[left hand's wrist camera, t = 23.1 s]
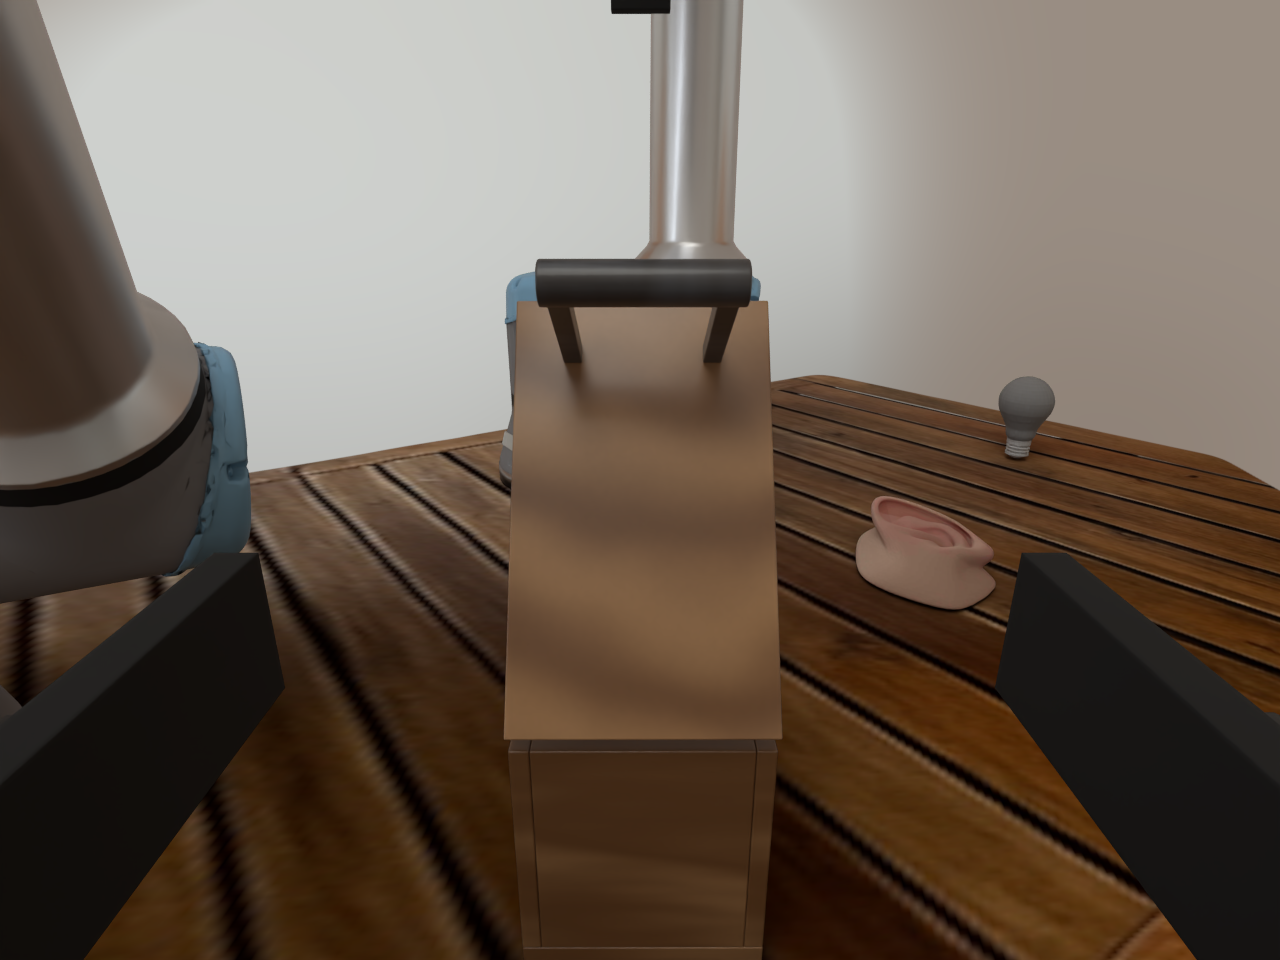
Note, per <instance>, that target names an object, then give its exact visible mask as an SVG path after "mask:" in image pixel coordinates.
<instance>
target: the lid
mask: <svg viewBox="0 0 1280 960" xmlns="http://www.w3.org/2000/svg"><path fill="white" fill-rule="evenodd" d="M535 289H536V298H537V301H517V313H516V346H515V379H514V413H513V446H512V479H511V513H510V546H509V579H508V613H507V646H506V680H505V713H504V740H781V739H782V709H781V679H780V649H779V619H778V589H777V558H776V528H775V498H774V468H773V438H772V408H771V378H770V348H769V318H768V301H750V299H751V291H752V266H751V262H750V260H749V259H538V260H537V262H536V268H535Z"/></svg>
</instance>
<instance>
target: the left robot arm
mask: <svg viewBox="0 0 1280 960" xmlns="http://www.w3.org/2000/svg"><path fill="white" fill-rule="evenodd" d="M247 463H248V459H247V438H246V428H245V419H244V411H243V403H242V396H241V389H240V383H239V377H238V372H237V368H236V364H235V361H234V358H233V356H232V355H231V353H230V352H228V351H227V350H225V349H223V348H222V347H216V346H207V345H206V344H204V343H199V342H198V343H193V341H192V339H191V337H190V336H189V334H188V332H187V330H186V328H185V327H184V326H183V324H182V323H181V322H180V321H179V320H178V319H177V318H176V316H175V315H173V314H172V313H171V312H169V311H168V310H167V309H166V308H165V307H163V306H162V305H160V304H159V303H157V302H155V301H154V300H152V299H151V298H149V297H147V296H145V295H143V294H141V293H139V292H137V291H136V288H135V285H134V282H133V279H132V276H131V273H130V270H129V267H128V265H127V262H126V259H125V256H124V253H123V250H122V247H121V244H120V241H119V238H118V236H117V233H116V230H115V227H114V224H113V221H112V218H111V215H110V212H109V209H108V207H107V204H106V201H105V198H104V195H103V192H102V189H101V186H100V183H99V180H98V178H97V175H96V172H95V169H94V166H93V163H92V160H91V157H90V154H89V152H88V149H87V146H86V143H85V140H84V137H83V134H82V131H81V128H80V125H79V122H78V120H77V117H76V114H75V111H74V108H73V105H72V102H71V99H70V96H69V94H68V91H67V88H66V85H65V82H64V79H63V76H62V73H61V70H60V67H59V64H58V62H57V59H56V56H55V53H54V50H53V47H52V44H51V41H50V38H49V35H48V33H47V30H46V27H45V24H44V21H43V18H42V15H41V12H40V9H39V7H38V4H37V1H36V0H0V604H1V603H6V602H12V601H17V600H23V599H28V598H34V597H39V596H45V595H50V594H56V593H61V592H67V591H72V590H78V589H83V588H89V587H94V586H100V585H105V584H111V583H116V582H122V581H127V580H133V579H138V578H144V577H150V576H156V575H163V576H176V575H179V574H182V573H183V572H184V571H186V570H187V569H191V568H194V569H193V570H192V571H191V572H189V573H188V574H187V575H186V576H184V577H183V578H182V579H181V580H179V581H178V582H177V583H176V584H174V585H173V586H172V587H171V588H170V589H168V590H167V591H166V592H165V593H163V594H162V595H161V596H160V597H158V598H157V599H156V600H155V601H153V602H152V603H151V604H150V605H148V606H147V607H146V608H145V609H143V610H142V611H141V612H140V613H139V614H137V615H136V616H135V617H134V618H132V619H131V620H130V621H129V622H127V623H126V624H125V625H124V626H122V627H121V628H120V629H119V630H117V631H116V632H115V633H114V634H112V635H111V636H110V637H109V638H107V639H106V640H105V641H104V642H103V643H101V644H100V645H99V646H98V647H96V648H95V649H94V650H93V651H91V652H90V653H89V654H88V655H86V656H85V657H84V658H83V659H81V660H80V661H79V662H78V663H76V664H75V665H74V666H73V667H72V668H70V669H69V670H68V671H67V672H65V673H64V674H63V675H62V676H60V677H59V678H58V679H57V680H55V681H54V682H53V683H52V684H50V685H49V686H48V687H47V688H45V689H44V690H43V691H42V692H41V693H39V694H38V695H37V696H36V697H34V698H33V699H32V700H31V701H29V702H28V703H27V704H26V705H24V706H23V707H21V705H20V704H19V703H18V702H17V701H16V700H15V699H14V698H13V697H12V696H11V695H10V694H9V693H8V692H7V691H6V690H5V689H4V688H3V687H2V686H1V685H0V960H83V959H84V958H85V957H86V955H87V954H88V953H89V951H90V950H91V949H92V947H93V946H94V944H95V943H96V942H97V940H98V939H99V938H100V936H101V935H102V934H103V932H104V931H105V930H106V928H107V927H108V926H109V924H110V923H111V922H112V920H113V919H114V918H115V916H116V915H117V913H118V912H119V911H120V909H121V908H122V907H123V905H124V904H125V903H126V901H127V900H128V899H129V897H130V896H131V895H132V893H133V892H134V891H135V889H136V888H137V887H138V885H139V884H140V882H141V881H142V880H143V878H144V877H145V876H146V874H147V873H148V872H149V870H150V869H151V868H152V866H153V865H154V864H155V862H156V861H157V860H158V858H159V857H160V856H161V854H162V853H163V851H164V850H165V849H166V847H167V846H168V845H169V843H170V842H171V841H172V839H173V838H174V837H175V835H176V834H177V833H178V831H179V830H180V829H181V827H182V826H183V825H184V823H185V822H186V820H187V819H188V818H189V816H190V815H191V814H192V812H193V811H194V810H195V808H196V807H197V806H198V804H199V803H200V802H201V800H202V799H203V798H204V796H205V795H206V794H207V792H208V791H209V789H210V788H211V787H212V785H213V784H214V783H215V781H216V780H217V779H218V777H219V776H220V775H221V773H222V772H223V771H224V769H225V768H226V767H227V765H228V764H229V763H230V761H231V760H232V758H233V757H234V756H235V754H236V753H237V752H238V750H239V749H240V748H241V746H242V745H243V744H244V742H245V741H246V740H247V738H248V737H249V736H250V734H251V733H252V732H253V730H254V729H255V727H256V726H257V725H258V723H259V722H260V721H261V719H262V718H263V717H264V715H265V714H266V713H267V711H268V710H269V709H270V707H271V706H272V705H273V703H274V702H275V701H276V699H277V698H278V696H279V695H280V694H281V692H282V691H283V690H284V688H285V686H284V680H283V675H282V670H281V665H280V660H279V655H278V650H277V645H276V640H275V635H274V630H273V625H272V620H271V615H270V610H269V605H268V600H267V595H266V590H265V585H264V579H263V574H262V569H261V564H260V559H259V554H258V553H239V552H240V551H241V550H242V549H243V548H244V546H245V545H246V543H247V541H248V538H249V534H250V527H251V493H250V480H249V472H248V469H247V467H246V466H247ZM995 688H996V690H997V691H998V692H999V694H1000V695H1001V696H1002V698H1003V699H1004V701H1005V702H1006V703H1007V705H1008V706H1009V707H1010V709H1011V710H1012V711H1013V713H1014V714H1015V715H1016V717H1017V718H1018V719H1019V721H1020V722H1021V723H1022V725H1023V726H1024V727H1025V729H1026V730H1027V732H1028V733H1029V734H1030V736H1031V737H1032V738H1033V740H1034V741H1035V742H1036V744H1037V745H1038V746H1039V748H1040V749H1041V750H1042V752H1043V753H1044V754H1045V756H1046V757H1047V758H1048V760H1049V761H1050V763H1051V764H1052V765H1053V767H1054V768H1055V769H1056V771H1057V772H1058V773H1059V775H1060V776H1061V777H1062V779H1063V780H1064V781H1065V783H1066V784H1067V785H1068V787H1069V788H1070V789H1071V791H1072V792H1073V794H1074V795H1075V796H1076V798H1077V799H1078V800H1079V802H1080V803H1081V804H1082V806H1083V807H1084V808H1085V810H1086V811H1087V812H1088V814H1089V815H1090V816H1091V818H1092V819H1093V820H1094V822H1095V823H1096V825H1097V826H1098V827H1099V829H1100V830H1101V831H1102V833H1103V834H1104V835H1105V837H1106V838H1107V839H1108V841H1109V842H1110V843H1111V845H1112V846H1113V847H1114V849H1115V850H1116V851H1117V853H1118V854H1119V856H1120V857H1121V858H1122V860H1123V861H1124V862H1125V864H1126V865H1127V866H1128V868H1129V869H1130V870H1131V872H1132V873H1133V874H1134V876H1135V877H1136V878H1137V880H1138V881H1139V882H1140V884H1141V885H1142V887H1143V888H1144V889H1145V891H1146V892H1147V893H1148V895H1149V896H1150V897H1151V899H1152V900H1153V901H1154V903H1155V904H1156V905H1157V907H1158V908H1159V909H1160V911H1161V912H1162V913H1163V915H1164V916H1165V918H1166V919H1167V920H1168V922H1169V923H1170V924H1171V926H1172V927H1173V928H1174V930H1175V931H1176V932H1177V934H1178V935H1179V936H1180V938H1181V939H1182V940H1183V942H1184V943H1185V944H1186V946H1187V947H1188V949H1189V950H1190V951H1191V953H1192V954H1193V955H1194V957H1195V958H1196V959H1197V960H1280V715H1278V714H1276V713H1264V712H1263V711H1262V710H1261V709H1259V708H1258V707H1257V706H1256V705H1254V704H1253V703H1252V702H1251V701H1249V700H1248V699H1247V698H1246V697H1244V696H1243V695H1242V694H1241V693H1239V692H1238V691H1237V690H1236V689H1235V688H1233V687H1232V686H1231V685H1230V684H1228V683H1227V682H1226V681H1225V680H1223V679H1222V678H1221V677H1220V676H1218V675H1217V674H1216V673H1215V672H1213V671H1212V670H1211V669H1210V668H1208V667H1207V666H1206V665H1205V664H1204V663H1202V662H1201V661H1200V660H1199V659H1197V658H1196V657H1195V656H1194V655H1192V654H1191V653H1190V652H1189V651H1187V650H1186V649H1185V648H1184V647H1182V646H1181V645H1180V644H1179V643H1177V642H1176V641H1175V640H1174V639H1173V638H1171V637H1170V636H1169V635H1168V634H1166V633H1165V632H1164V631H1163V630H1161V629H1160V628H1159V627H1158V626H1156V625H1155V624H1154V623H1153V622H1151V621H1150V620H1149V619H1148V618H1146V617H1145V616H1144V615H1143V614H1141V613H1140V612H1139V611H1138V610H1137V609H1135V608H1134V607H1133V606H1132V605H1130V604H1129V603H1128V602H1127V601H1125V600H1124V599H1123V598H1122V597H1120V596H1119V595H1118V594H1117V593H1115V592H1114V591H1113V590H1112V589H1110V588H1109V587H1108V586H1107V585H1106V584H1104V583H1103V582H1102V581H1101V580H1099V579H1098V578H1097V577H1096V576H1094V575H1093V574H1092V573H1091V572H1089V571H1088V570H1087V569H1086V568H1084V567H1083V566H1082V565H1081V564H1079V563H1078V562H1077V561H1076V560H1075V559H1073V558H1072V557H1071V556H1070V555H1068V554H1067V553H1022V554H1021V559H1020V564H1019V569H1018V574H1017V579H1016V584H1015V590H1014V595H1013V600H1012V605H1011V610H1010V615H1009V620H1008V625H1007V630H1006V635H1005V640H1004V645H1003V650H1002V655H1001V660H1000V665H999V670H998V675H997V680H996V686H995Z"/></svg>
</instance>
